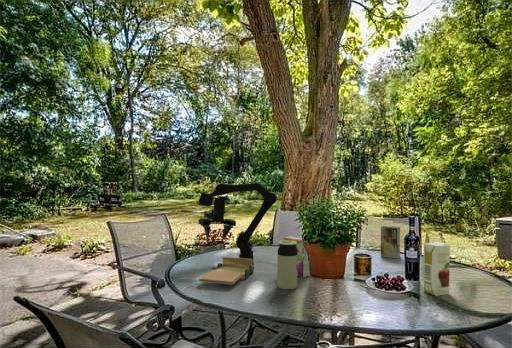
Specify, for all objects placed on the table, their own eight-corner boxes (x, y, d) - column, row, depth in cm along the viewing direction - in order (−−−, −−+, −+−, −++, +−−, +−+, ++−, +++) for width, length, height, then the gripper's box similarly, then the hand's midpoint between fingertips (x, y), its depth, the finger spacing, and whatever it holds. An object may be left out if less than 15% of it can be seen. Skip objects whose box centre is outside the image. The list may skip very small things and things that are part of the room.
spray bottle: (282, 273, 171) (283, 237, 171) (289, 271, 175) (290, 235, 175) (303, 278, 164) (303, 240, 164) (309, 276, 167) (310, 239, 167)
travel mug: (274, 288, 150) (275, 243, 149) (280, 283, 157) (280, 239, 157) (294, 291, 147) (294, 244, 147) (299, 285, 154) (299, 241, 154)
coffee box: (400, 256, 207) (400, 227, 207) (397, 258, 202) (397, 228, 202) (383, 254, 212) (383, 225, 212) (380, 256, 207) (380, 227, 207)
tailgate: (212, 269, 165) (199, 278, 151) (243, 272, 161) (232, 281, 147) (212, 272, 165) (199, 281, 151) (243, 275, 161) (232, 284, 147)
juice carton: (419, 291, 147) (420, 242, 147) (436, 288, 151) (436, 241, 151) (436, 297, 141) (436, 246, 140) (452, 294, 144) (453, 244, 144)
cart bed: (220, 269, 178) (221, 256, 178) (254, 272, 173) (254, 258, 173) (210, 276, 165) (210, 262, 165) (246, 279, 161) (246, 265, 161)
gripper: (227, 206, 202) (223, 235, 203) (195, 205, 192) (191, 235, 192) (238, 210, 193) (234, 240, 194) (205, 208, 183) (201, 240, 183)
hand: (215, 239), depth 191 cm, fingers open, 9 cm apart
